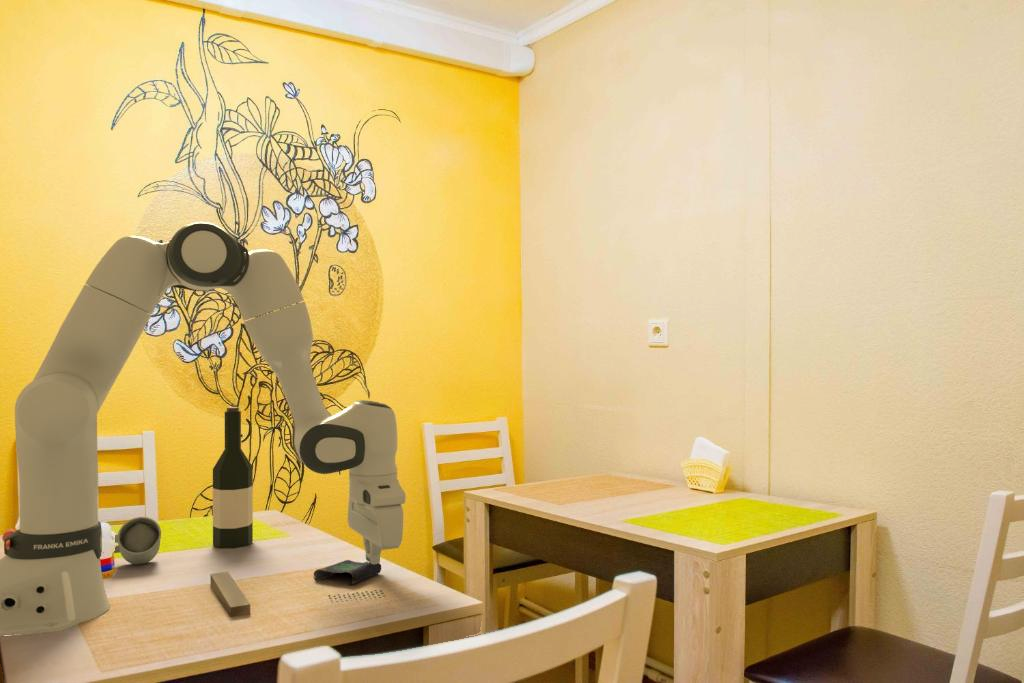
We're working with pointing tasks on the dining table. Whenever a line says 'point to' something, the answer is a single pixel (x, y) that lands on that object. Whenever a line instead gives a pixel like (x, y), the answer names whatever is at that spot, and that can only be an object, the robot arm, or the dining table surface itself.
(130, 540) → the ceramic mug
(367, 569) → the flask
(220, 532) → the wine bottle
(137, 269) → the robot arm
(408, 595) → the dining table surface
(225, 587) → the bar
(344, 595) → the woven mat
